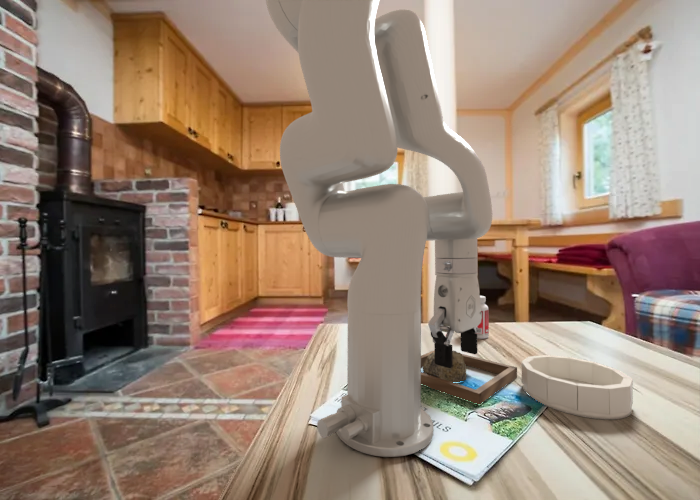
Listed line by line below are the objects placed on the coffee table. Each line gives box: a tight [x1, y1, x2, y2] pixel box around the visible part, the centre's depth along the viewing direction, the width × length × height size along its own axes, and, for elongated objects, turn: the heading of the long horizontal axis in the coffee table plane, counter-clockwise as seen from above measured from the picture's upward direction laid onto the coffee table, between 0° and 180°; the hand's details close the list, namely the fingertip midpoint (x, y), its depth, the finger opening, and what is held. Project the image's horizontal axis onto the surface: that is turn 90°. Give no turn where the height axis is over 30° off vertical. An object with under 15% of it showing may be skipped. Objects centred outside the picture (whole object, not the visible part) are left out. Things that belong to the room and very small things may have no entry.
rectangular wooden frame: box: [421, 349, 518, 405], centre depth 59 cm, size 16×16×2 cm
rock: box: [422, 350, 467, 382], centre depth 59 cm, size 7×8×4 cm
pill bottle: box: [476, 295, 490, 340], centre depth 87 cm, size 6×6×11 cm
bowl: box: [521, 354, 634, 421], centre depth 50 cm, size 14×14×4 cm
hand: (456, 358), depth 59 cm, fingers open, 9 cm apart
